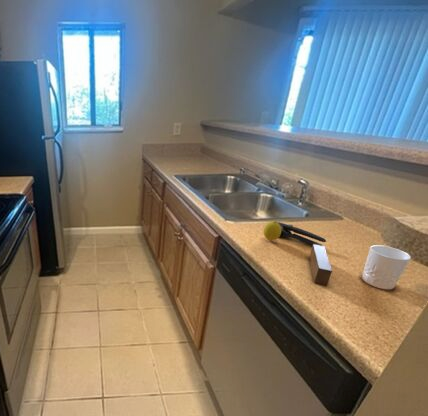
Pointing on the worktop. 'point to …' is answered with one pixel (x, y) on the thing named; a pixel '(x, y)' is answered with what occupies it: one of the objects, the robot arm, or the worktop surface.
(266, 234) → the lemon
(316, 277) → the walnut rail
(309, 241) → the can opener
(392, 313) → the worktop surface
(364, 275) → the white cup
